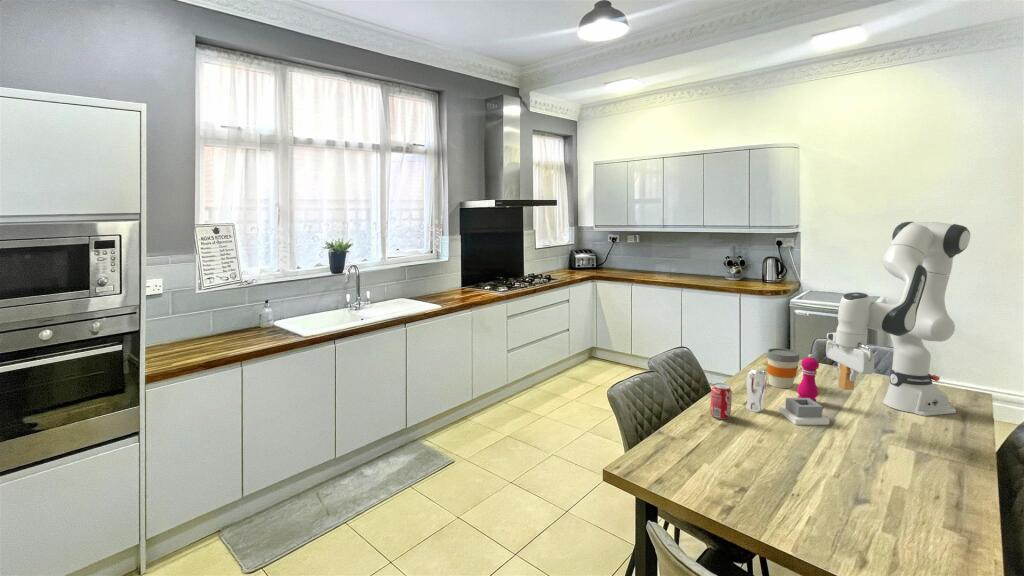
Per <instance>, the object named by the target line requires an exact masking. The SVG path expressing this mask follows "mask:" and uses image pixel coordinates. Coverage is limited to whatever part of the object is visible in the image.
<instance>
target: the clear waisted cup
mask: <svg viewBox="0 0 1024 576" xmlns="http://www.w3.org/2000/svg"><path fill="white" fill-rule="evenodd" d="M767 374H768V372H766V371H764V370H761V369H755V368H754V369H752V368H751V369H748V370H747V374H746V381H745V382H746V383H745V387H746V392H747V393H746V394H747V401H746V405H745V409H746V410H748V411H750V412H752V413H754V412H755V413H762V412H764V403H763V402H764V397H765V393H766V390H767V382H768V380H767V379H768V378H767Z"/></svg>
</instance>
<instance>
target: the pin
mask: <svg viewBox="0 0 1024 576" xmlns="http://www.w3.org/2000/svg"><path fill="white" fill-rule="evenodd" d="M850 370H851V368H849V367H847V366H845V365H843V364H841V366H840V375H839V378H838V388H841V389H842V390H844V391H847V390H848V391H850V390H851V391H854V389H855V382H856V381H850V380H848V375H850V374H851V371H850Z"/></svg>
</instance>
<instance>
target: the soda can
mask: <svg viewBox="0 0 1024 576" xmlns="http://www.w3.org/2000/svg"><path fill="white" fill-rule="evenodd" d="M732 392H733V391H732V390H731V386H730V385H729V384H727V383H719V382H717V383H716V382H715V383H714V384H713V386H712V387H711V391H710V411H709V412H710V415H711V416H713V418H715V419H718V420H726V419H728V418H730V417H731V413H732V412H731V411H732V396H733V395H732Z"/></svg>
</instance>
